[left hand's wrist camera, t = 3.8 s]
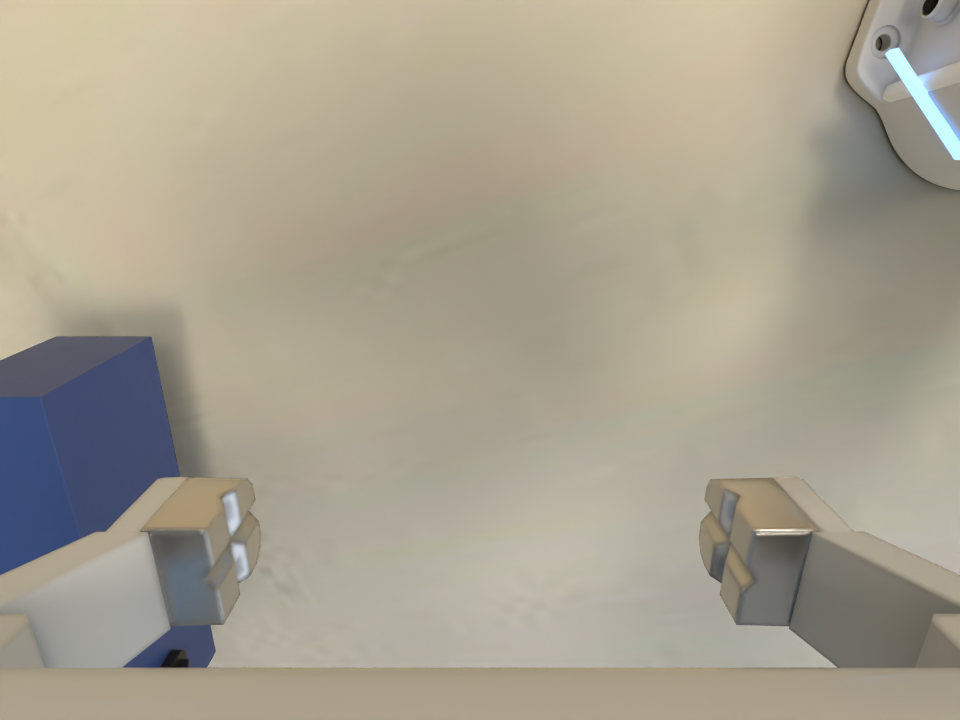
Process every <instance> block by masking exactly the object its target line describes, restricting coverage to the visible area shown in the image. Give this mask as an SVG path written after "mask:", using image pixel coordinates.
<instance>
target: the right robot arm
mask: <svg viewBox="0 0 960 720" xmlns="http://www.w3.org/2000/svg"><path fill="white" fill-rule="evenodd" d="M160 668H191V667H190V662H189V659H187V656H186V651H185V650H171V651H170V652H169V654H168V656H167V657H166V659H165V660H164V662H163V664H162V665H161V667H160Z"/></svg>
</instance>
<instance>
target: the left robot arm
mask: <svg viewBox="0 0 960 720" xmlns="http://www.w3.org/2000/svg"><path fill="white" fill-rule="evenodd" d="M878 37H880V38H881V39H882V41H883V44H882V47H881V49H880V50H877V49H876V45H875V44H876V40H877V38H878ZM845 73H846V78H847V81H848V82H849V84H850V86H851V87H852V88H853V89H854V90H855V91H856V92H857V93H858V94H859V95H860V96H861V97H862V98H863V99H865V100H866V101H867V102H868V103H869V104H871V105H872V106H873V107H874V108H875V109H876V110H877V112H878V113H879V115H880V117H881V119H882V122H883V124H884V127H885V129H886V132H887V134H888V137H889V139H890V141H891V143H892V146H893V147H894V149H895V151H896V152H897V154H898V155H899V156H900V158H901V159H902V160H903V162H904V163H905V164H906V165H907V166H908V167H909V168H910V169H911V170H912V171H914V172H915V173H916V174H918V175H919V176H920V177H922V178H924V179H925V180H927V181H929V182H931V183H933V184H936V185H939V186H942V187H945V188H949V189H954V190H960V0H870V1H869V3H868V6H867V9H866V11H865V14H864V17H863V19H862V22H861V25H860V27H859V30H858V33H857V36H856V38H855V41H854V44H853V46H852V49H851V52H850V54H849V57H848V60H847V63H846V69H845ZM254 502H255V495H254V490H253V485H252V483H251V482H250V481H249V480H248V479H247V478H198V477H193V478H190V477H165V478H160V479H157V480H156V481H155V482H154V483H153V484H152V485H151V486H150V487H149V488H148V489H147V490H146V491H145V492H144V493H143V494H142V495H141V496H140V497H139V498H138V499H137V500H136V501H135V502H134V503H133V504H132V505H131V506H130V507H129V508H128V509H127V510H126V511H125V512H124V513H123V514H122V515H121V516H120V517H119V518H118V519H117V520H116V522H115V523H114V524H113V525H112V526H111V527H110V528H109V529H108V530H107V531H106V532H94V533H92V534H90V535H88V536H85V537H83V538H81V539H79V540H77V541H74V542H72V543H70V544H68V545H66V546H63V547H61V548H59V549H57V550H55V551H52V552H50V553H48V554H46V555H44V556H41V557H39V558H37V559H35V560H33V561H30V562H28V563H26V564H24V565H22V566H19V567H17V568H15V569H13V570H10V571H8V572H6V573H4V574H2V575H0V720H960V575H958V574H956V573H954V572H951V571H949V570H947V569H945V568H943V567H940V566H938V565H936V564H934V563H932V562H929V561H927V560H925V559H923V558H921V557H918V556H916V555H914V554H912V553H910V552H907V551H905V550H903V549H901V548H899V547H896V546H894V545H892V544H890V543H888V542H885V541H883V540H881V539H879V538H877V537H874V536H872V535H870V534H868V533H866V532H854V531H853V530H852V529H851V528H850V527H849V526H848V524H847V523H846V522H845V521H844V520H843V519H842V518H841V517H840V516H839V515H838V514H837V513H836V512H835V511H834V510H833V509H832V508H831V507H830V506H829V505H828V504H827V503H826V502H825V501H824V500H823V499H822V498H821V497H820V496H819V495H818V494H817V493H816V492H815V491H814V490H813V489H812V488H811V487H810V486H809V485H808V484H807V483H806V482H805V481H804V480H803V479H800V478H798V477H777V478H746V479H711V480H710V482H709V484H708V486H707V488H706V494H705V502H706V503H707V505H708V506H709V508H710V510H711V512H710V513H709V514H708V515H707V516H706V517H705V518H704V519H703V520H702V521H701V526H700V535H699V541H700V552H701V556H702V559H703V563H704V565H705V567H706V569H707V571H708V573H709V575H710V576H711V577H713V578H714V579H716V580H717V581H719V582H720V583H722V585H721V590H720V596H721V598H722V599H723V601H724V603H725V605H726V607H727V609H728V610H729V612H730V614H731V616H732V618H733V619H734V621H735V623H736V625H764V626H790V627H789V629H790V630H792V631H793V632H794V633H795V634H797V635H798V636H799V637H800V638H802V639H803V640H804V641H805V642H807V643H808V644H809V645H810V646H812V647H813V648H814V649H815V650H817V651H818V652H819V653H820V654H822V655H823V656H824V657H825V658H827V659H828V660H829V661H831V662H832V663H833V664H834V665H836V666H837V667H838V668H122V667H123V666H125V665H126V664H127V663H128V662H130V661H131V660H132V659H133V658H135V657H136V656H137V655H138V654H140V653H141V652H142V651H144V650H145V649H146V648H147V647H149V646H150V645H151V644H152V643H154V642H155V641H156V640H157V639H159V638H160V637H161V636H162V635H164V634H165V633H166V632H167V631H169V630H170V629H171V627H170V626H196V625H224V623H225V621H226V620H227V618H228V616H229V614H230V612H231V610H232V609H233V607H234V605H235V603H236V601H237V599H238V598H239V596H240V590H239V585H238V583H240V582H241V581H243V580H244V579H246V578H247V577H249V576H250V575H251V573H252V571H253V569H254V567H255V565H256V563H257V559H258V555H259V551H260V540H261V532H260V526H259V521H258V520H257V519H256V518H255V517H254V516H253V515H252V514H251V513H250V512H249V510H250V508H251V506H252V505H253V503H254Z"/></svg>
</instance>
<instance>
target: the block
mask: <svg viewBox="0 0 960 720" xmlns="http://www.w3.org/2000/svg"><path fill="white" fill-rule="evenodd" d="M165 477H180V475H179V470H178V465H177V460H176V455H175V450H174V445H173V440H172V435H171V430H170V426H169V421H168V416H167V411H166V406H165V401H164V396H163V391H162V386H161V382H160V377H159V372H158V367H157V362H156V357H155V352H154V347H153V342H152V337H54V338H52V339H50V340H47V341H45V342H43V343H40V344H38V345H35V346H33V347H31V348H28V349H26V350H24V351H21V352H19V353H17V354H14V355H12V356H10V357H7V358H5V359H3V360H0V575H2V574H4V573H6V572H8V571H10V570H13V569H15V568H17V567H19V566H22V565H24V564H26V563H28V562H30V561H33V560H35V559H37V558H39V557H41V556H44V555H46V554H48V553H50V552H52V551H55V550H57V549H59V548H61V547H63V546H66V545H68V544H70V543H72V542H74V541H77V540H79V539H81V538H83V537H85V536H88V535H90V534H92V533H94V532H106V531H107V530H108V529H109V528H110V527H111V526H112V525H113V524H114V523H115V522H116V520H117V519H118V518H119V517H120V516H121V515H122V514H123V513H124V512H125V511H126V510H127V509H128V508H129V507H130V506H131V505H132V504H133V503H134V502H135V501H136V500H137V499H138V498H139V497H140V496H141V495H142V494H143V493H144V492H145V491H146V490H147V489H148V488H149V487H150V486H151V485H152V484H153V483H154V482H155V481H156V480H157V479H160V478H165ZM170 627H171V629H170V630H169V631H167V632H166V633H165V634H164V635H162V636H161V637H160V638H159V639H157V640H156V641H155V642H154V643H152V644H151V645H150V646H149V647H147V648H146V649H145V650H144V651H142V652H141V653H140V654H138V655H137V656H136V657H135V658H133V659H132V660H131V661H130V662H128V663H127V664H126V665H125V666H123V667H122V668H160V667H161V665H162V664H163V662H164V660H165V659H166V657H167V656H168V654H169V652H170V651H171V650H185V651H186V656H187V659H189V662H190V667H191V668H207V666H208V665H209V663H210V661H211V659H212V657H213V655H214V653H215V652H216V651H215V646H214V641H213V636H212V631H211V626H210V625H196V626H170Z"/></svg>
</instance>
